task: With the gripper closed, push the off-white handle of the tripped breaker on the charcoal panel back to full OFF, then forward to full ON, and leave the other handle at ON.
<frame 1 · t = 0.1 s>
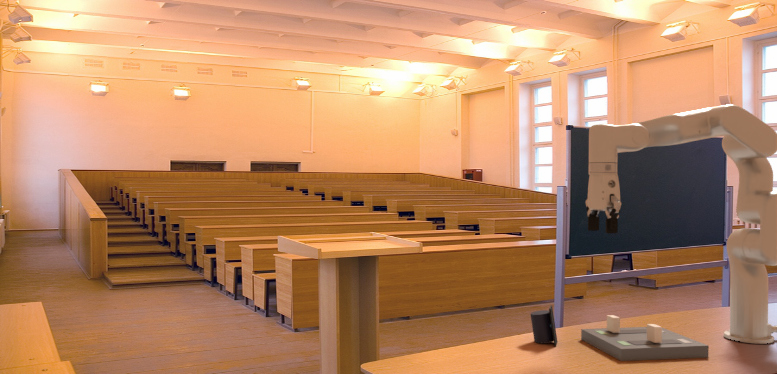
hand: (602, 231, 176), 31 cm above the table, tool pointing down, fingers open, 9 cm apart
breaker tripped: (654, 333, 167), point 5 cm above the table, slide at 0.0 cm
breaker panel: (641, 347, 173), on the table
speaker: (543, 343, 178), on the table
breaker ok: (613, 323, 178), point 5 cm above the table, slide at 5.0 cm
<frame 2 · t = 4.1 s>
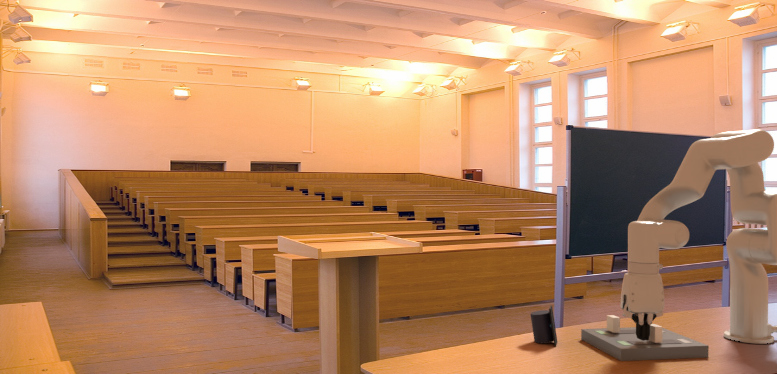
hand: (642, 339, 166), 4 cm above the table, tool pointing down, fingers closed
breaker tripped: (654, 333, 167), point 5 cm above the table, slide at -0.2 cm, touching gripper
everything else where it was.
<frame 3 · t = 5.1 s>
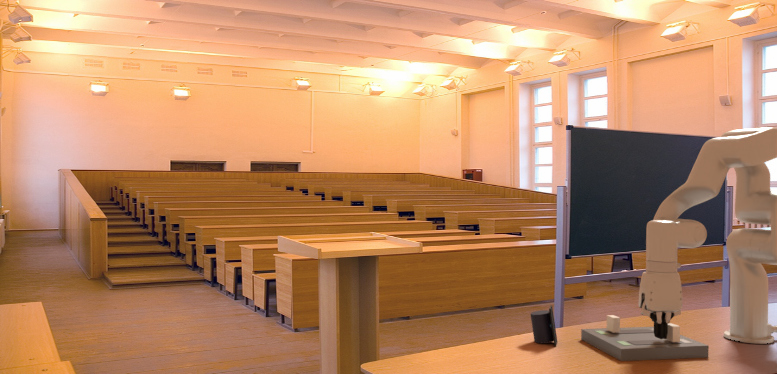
hand: (660, 337, 167), 4 cm above the table, tool pointing down, fingers closed
breaker tripped: (672, 332, 168), point 5 cm above the table, slide at -5.1 cm, touching gripper
everything else where it was.
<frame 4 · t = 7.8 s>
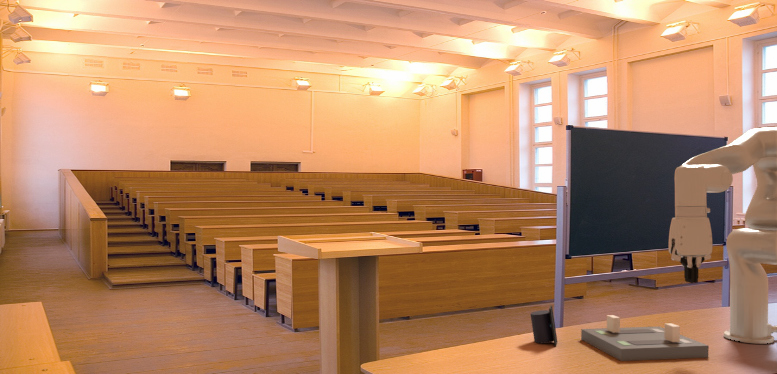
hand: (691, 282, 169), 19 cm above the table, tool pointing down, fingers closed
breaker tripped: (672, 332, 168), point 5 cm above the table, slide at -5.1 cm
everything else where it was.
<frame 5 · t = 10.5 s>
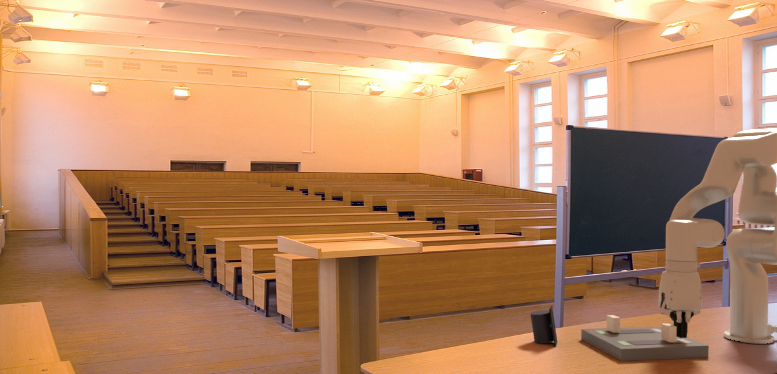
hand: (680, 336, 168), 4 cm above the table, tool pointing down, fingers closed
breaker tripped: (668, 332, 167), point 5 cm above the table, slide at -4.1 cm, touching gripper
everything else where it was.
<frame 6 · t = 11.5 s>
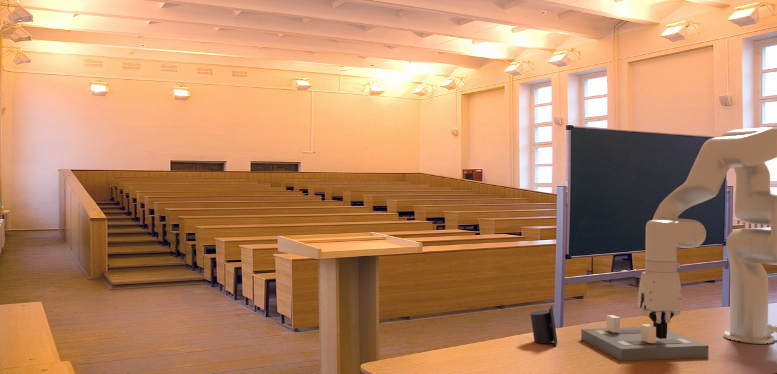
hand: (660, 337, 167), 4 cm above the table, tool pointing down, fingers closed
breaker tripped: (648, 333, 167), point 5 cm above the table, slide at 1.6 cm, touching gripper
everything else where it was.
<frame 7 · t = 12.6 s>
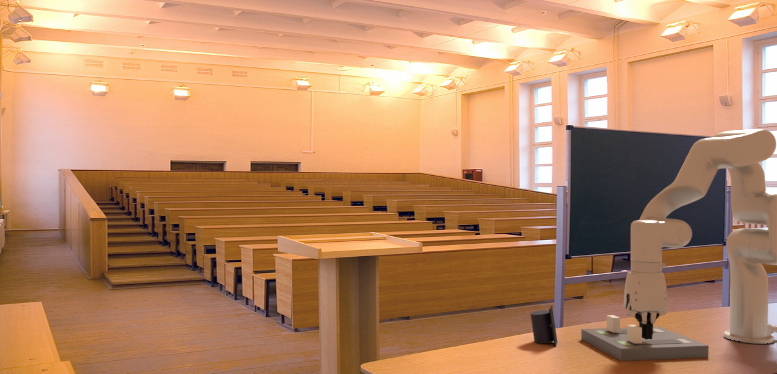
hand: (646, 338, 166), 4 cm above the table, tool pointing down, fingers closed
breaker tripped: (634, 333, 166), point 5 cm above the table, slide at 5.6 cm, touching gripper
everything else where it was.
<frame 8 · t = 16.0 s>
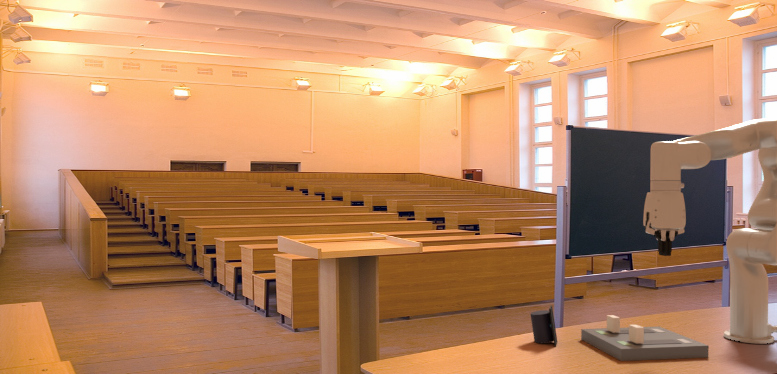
hand: (664, 255, 173), 25 cm above the table, tool pointing down, fingers closed
breaker tripped: (636, 333, 166), point 5 cm above the table, slide at 5.1 cm
everything else where it was.
at the end: breaker tripped slide at 5.1 cm; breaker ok slide at 5.0 cm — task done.
